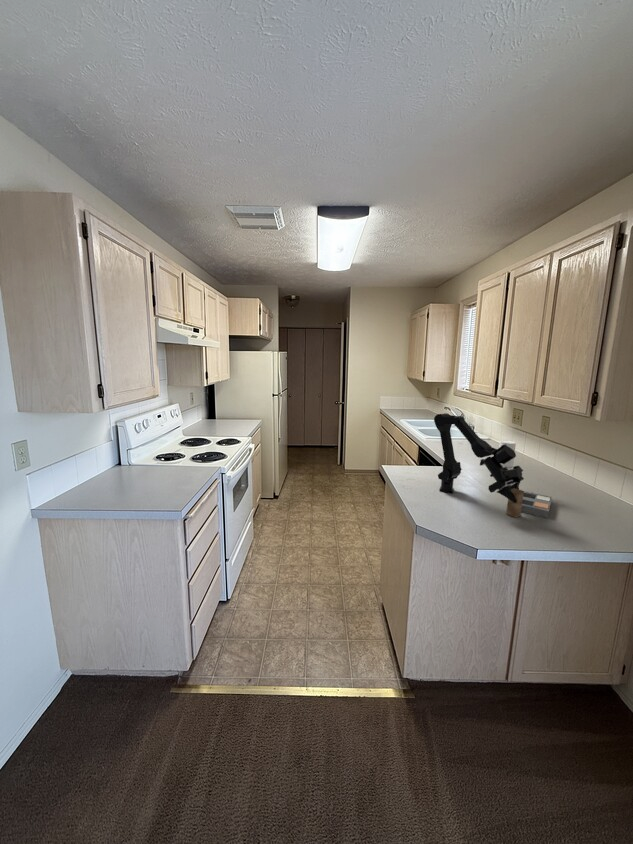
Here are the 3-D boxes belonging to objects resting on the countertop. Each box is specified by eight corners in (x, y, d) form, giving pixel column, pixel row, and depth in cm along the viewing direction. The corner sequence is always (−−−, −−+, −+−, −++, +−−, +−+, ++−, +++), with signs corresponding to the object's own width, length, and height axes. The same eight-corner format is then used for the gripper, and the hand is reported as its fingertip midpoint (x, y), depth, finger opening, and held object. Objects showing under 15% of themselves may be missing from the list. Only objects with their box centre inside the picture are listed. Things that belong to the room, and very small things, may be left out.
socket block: (510, 509, 155) (511, 502, 155) (516, 495, 171) (517, 489, 170) (547, 517, 147) (548, 510, 146) (550, 503, 163) (551, 496, 162)
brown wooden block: (506, 513, 150) (509, 489, 148) (511, 511, 152) (514, 488, 150) (515, 517, 146) (518, 492, 144) (520, 515, 149) (523, 491, 147)
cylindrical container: (512, 491, 176) (518, 443, 172) (496, 490, 177) (502, 443, 173) (507, 486, 183) (513, 440, 178) (492, 485, 184) (498, 439, 180)
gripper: (498, 463, 143) (522, 497, 136) (522, 457, 153) (545, 488, 146) (478, 476, 151) (500, 509, 144) (502, 469, 161) (524, 499, 154)
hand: (518, 501), depth 147 cm, fingers closed on brown wooden block, 4 cm apart
